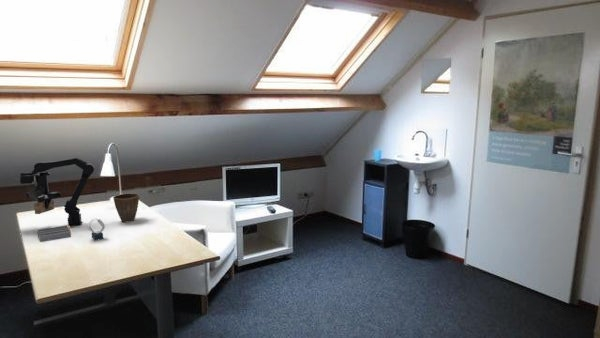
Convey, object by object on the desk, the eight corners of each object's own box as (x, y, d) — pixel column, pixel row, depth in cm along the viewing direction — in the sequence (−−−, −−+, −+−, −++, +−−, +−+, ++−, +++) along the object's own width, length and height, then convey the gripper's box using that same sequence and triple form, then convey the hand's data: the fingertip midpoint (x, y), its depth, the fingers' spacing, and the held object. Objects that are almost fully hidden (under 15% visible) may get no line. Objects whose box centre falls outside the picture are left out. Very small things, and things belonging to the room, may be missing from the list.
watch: (107, 237, 224) (105, 218, 222) (91, 241, 219) (89, 221, 217) (103, 235, 228) (102, 216, 226) (88, 238, 223) (86, 219, 221)
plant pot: (134, 224, 250) (132, 198, 247) (110, 224, 250) (108, 198, 248) (144, 217, 265) (142, 193, 262) (121, 217, 265) (119, 193, 262)
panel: (50, 208, 248) (49, 199, 247) (54, 208, 247) (53, 199, 246) (35, 213, 236) (34, 203, 235) (38, 214, 236) (37, 204, 235)
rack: (38, 234, 230) (37, 227, 229) (68, 229, 239) (67, 223, 238) (40, 241, 218) (39, 234, 217) (72, 236, 227) (71, 229, 226)
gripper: (16, 185, 233) (19, 211, 235) (45, 186, 230) (48, 213, 232) (32, 181, 244) (34, 207, 246) (60, 182, 241) (62, 208, 243)
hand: (44, 208), depth 241 cm, fingers closed on panel, 2 cm apart
